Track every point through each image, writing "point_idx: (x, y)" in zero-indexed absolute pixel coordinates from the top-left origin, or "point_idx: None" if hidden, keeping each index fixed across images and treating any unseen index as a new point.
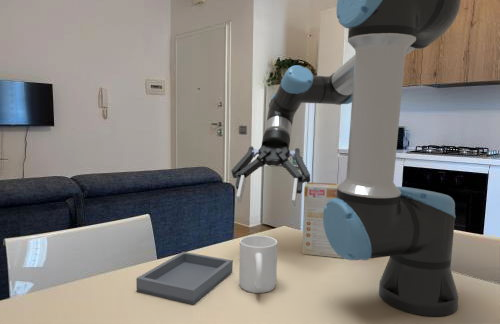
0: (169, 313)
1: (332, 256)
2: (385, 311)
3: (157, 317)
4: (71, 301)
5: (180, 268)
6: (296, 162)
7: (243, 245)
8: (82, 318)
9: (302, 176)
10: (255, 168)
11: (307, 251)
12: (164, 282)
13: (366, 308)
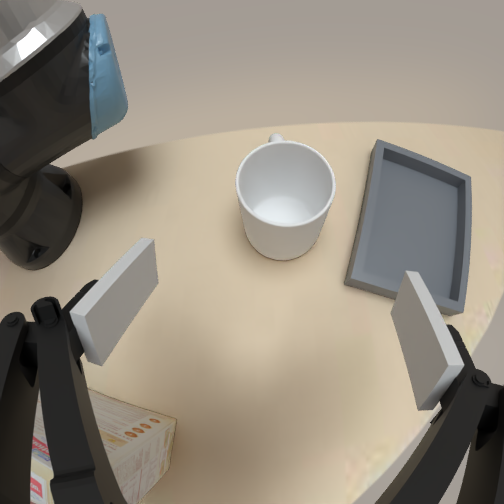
0: (390, 133)
1: (110, 397)
2: (94, 175)
3: (398, 125)
4: (500, 162)
5: (443, 269)
6: (26, 496)
7: (319, 153)
8: (465, 128)
9: (40, 314)
10: (388, 491)
11: (162, 417)
12: (429, 163)
13: (113, 177)
